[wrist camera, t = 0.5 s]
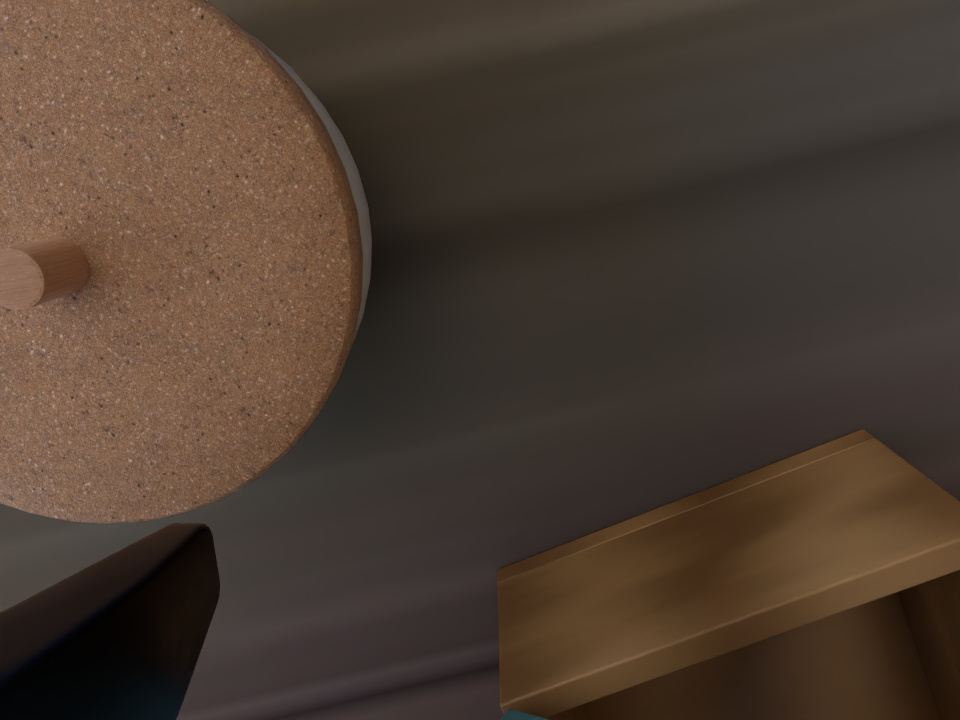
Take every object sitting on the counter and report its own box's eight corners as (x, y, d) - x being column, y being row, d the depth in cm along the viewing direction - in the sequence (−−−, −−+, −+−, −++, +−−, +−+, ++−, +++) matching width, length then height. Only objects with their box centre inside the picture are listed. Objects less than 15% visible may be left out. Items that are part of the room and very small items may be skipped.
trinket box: (-33, 56, 20) (-449, -16, 11) (359, -16, 20) (252, -153, 11) (86, 429, 23) (-171, 608, 14) (433, 375, 23) (396, 526, 14)
